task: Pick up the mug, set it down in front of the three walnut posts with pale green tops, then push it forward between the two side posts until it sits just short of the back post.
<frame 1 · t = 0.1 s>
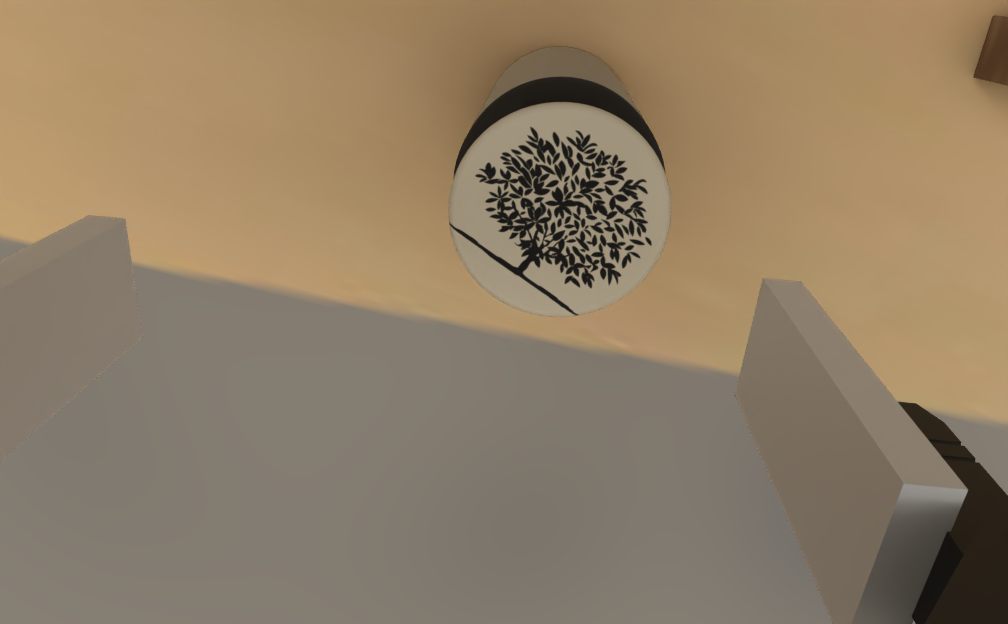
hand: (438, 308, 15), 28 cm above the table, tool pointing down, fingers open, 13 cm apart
travel mug: (557, 121, 41), on the table
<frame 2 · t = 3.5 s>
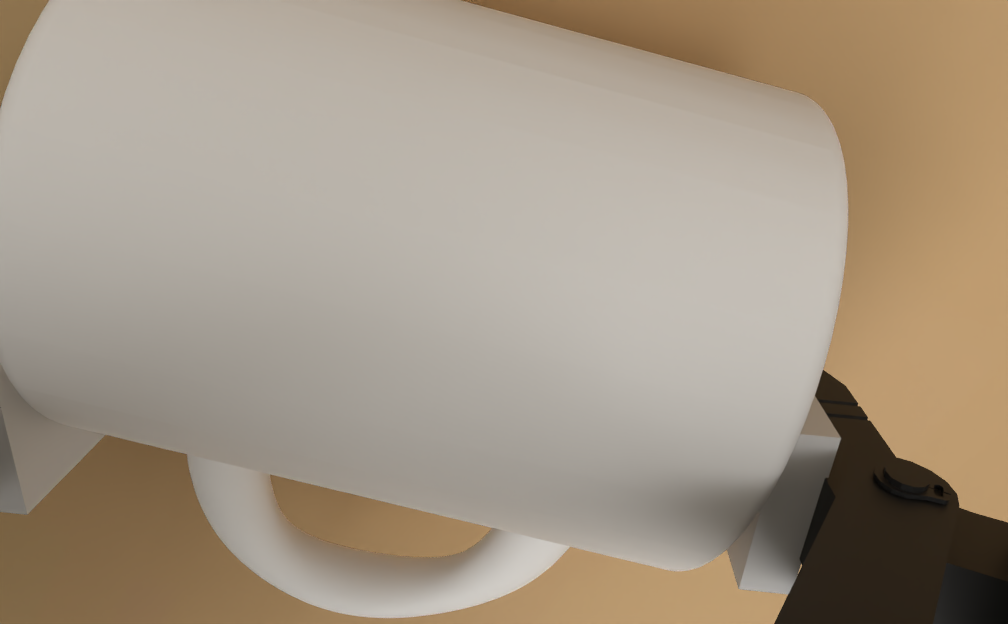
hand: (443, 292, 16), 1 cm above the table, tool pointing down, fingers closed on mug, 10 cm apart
mug: (446, 275, 17), on the table, touching gripper
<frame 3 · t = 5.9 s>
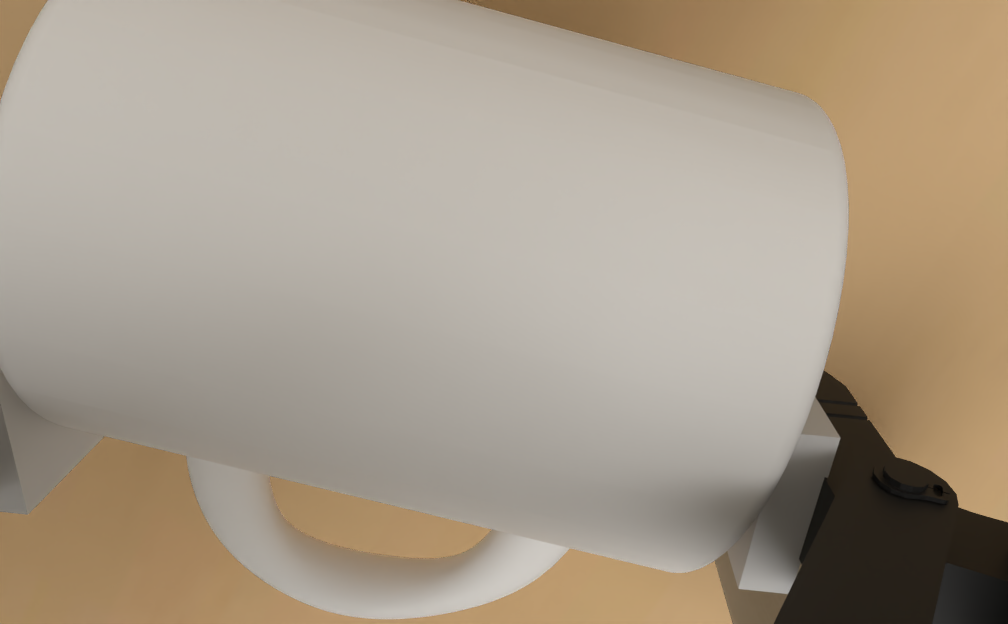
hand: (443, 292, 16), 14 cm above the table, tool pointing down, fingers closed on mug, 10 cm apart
mug: (446, 275, 17), point 13 cm above the table, touching gripper
travel mug: (773, 451, 34), on the table
when the fingers open (2 cm above the table, at t = 8.7 s): mug moves 1 cm, point 1 cm above the table.
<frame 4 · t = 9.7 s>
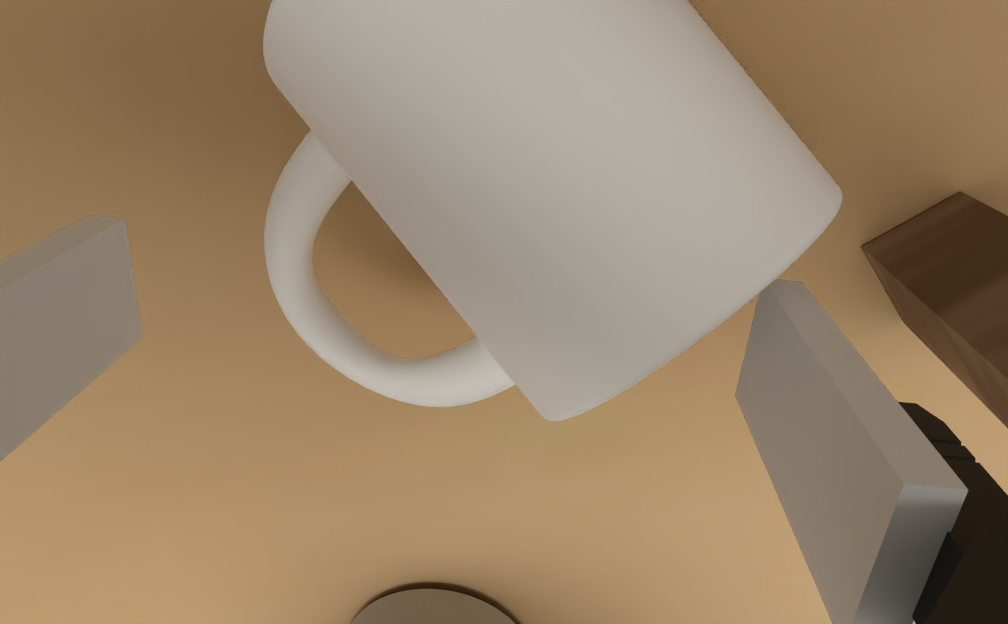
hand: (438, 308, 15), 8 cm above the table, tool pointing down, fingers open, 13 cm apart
header dock: (798, 10, 20), on the table
mug: (525, 189, 21), point 1 cm above the table
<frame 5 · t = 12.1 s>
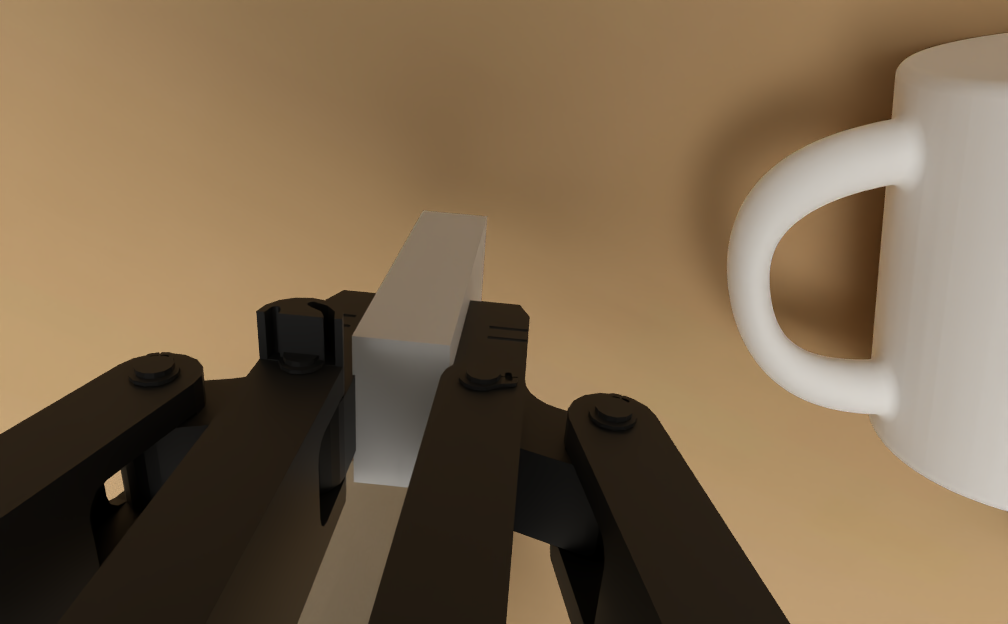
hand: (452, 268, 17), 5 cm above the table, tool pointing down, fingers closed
mug: (903, 216, 22), on the table
travel mug: (402, 530, 29), on the table
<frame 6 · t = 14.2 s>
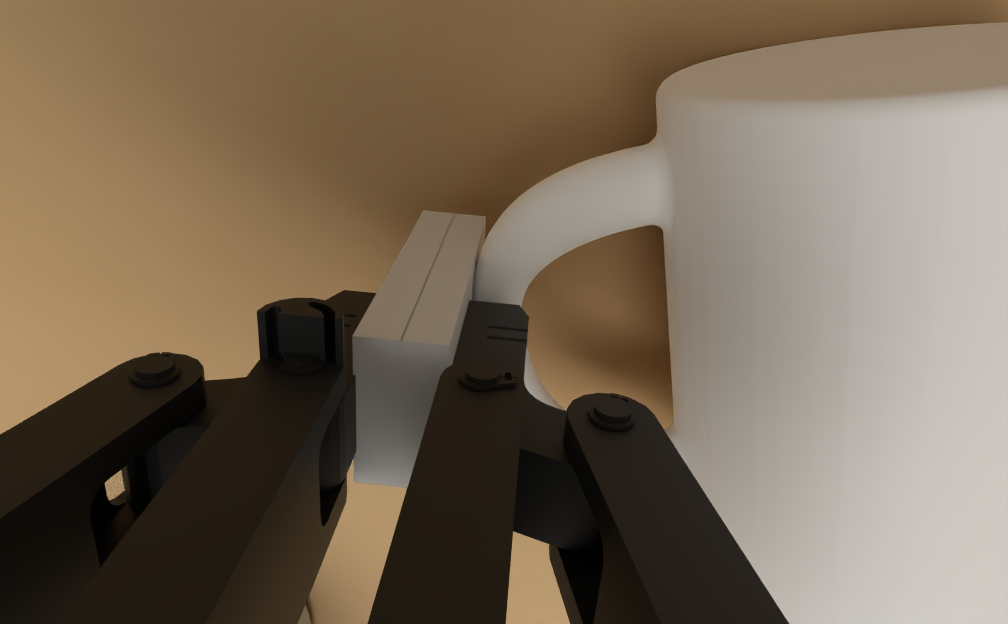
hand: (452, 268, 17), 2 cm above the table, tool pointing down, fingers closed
mug: (725, 254, 19), on the table, touching gripper
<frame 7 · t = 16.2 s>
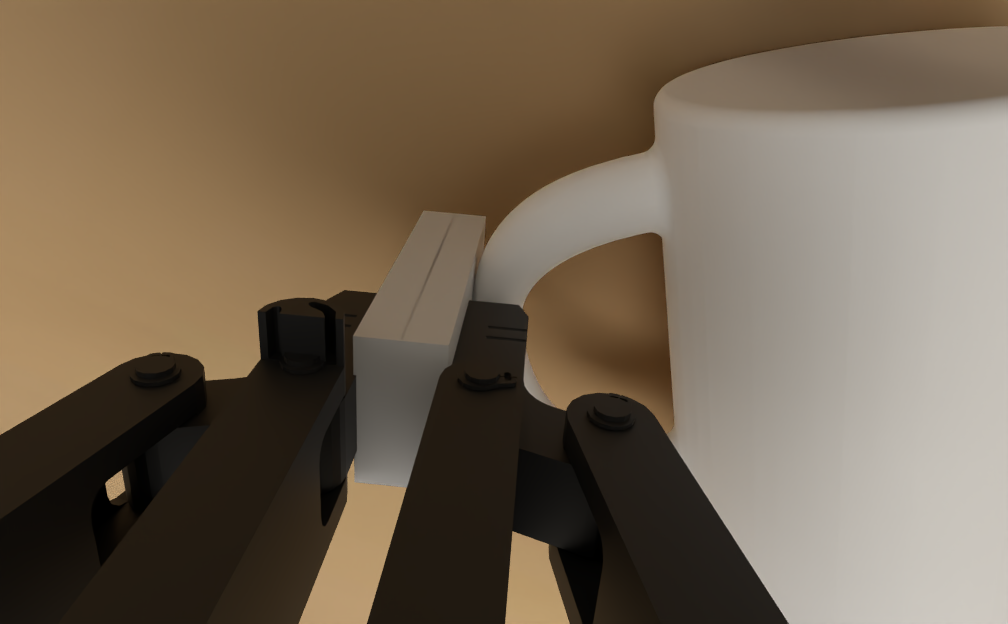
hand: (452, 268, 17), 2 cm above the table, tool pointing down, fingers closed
mug: (725, 258, 19), on the table, touching gripper
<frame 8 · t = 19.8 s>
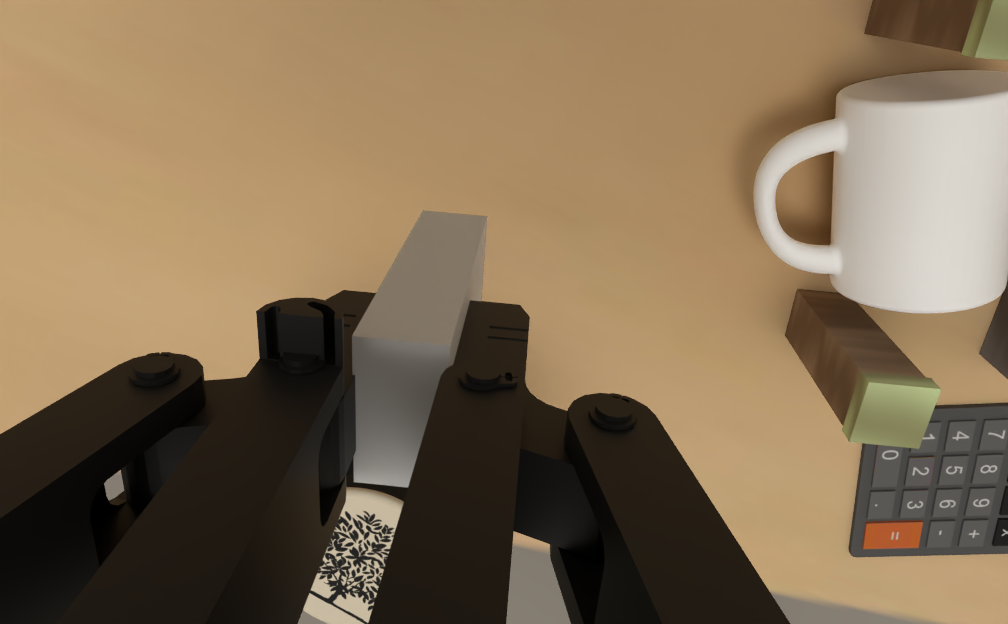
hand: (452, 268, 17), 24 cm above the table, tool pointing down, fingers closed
header dock: (856, 173, 40), on the table
mug: (848, 173, 40), on the table
travel mug: (427, 357, 47), on the table
calculator: (973, 475, 48), on the table
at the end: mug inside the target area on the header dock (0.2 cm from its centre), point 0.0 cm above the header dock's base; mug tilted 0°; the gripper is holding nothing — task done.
